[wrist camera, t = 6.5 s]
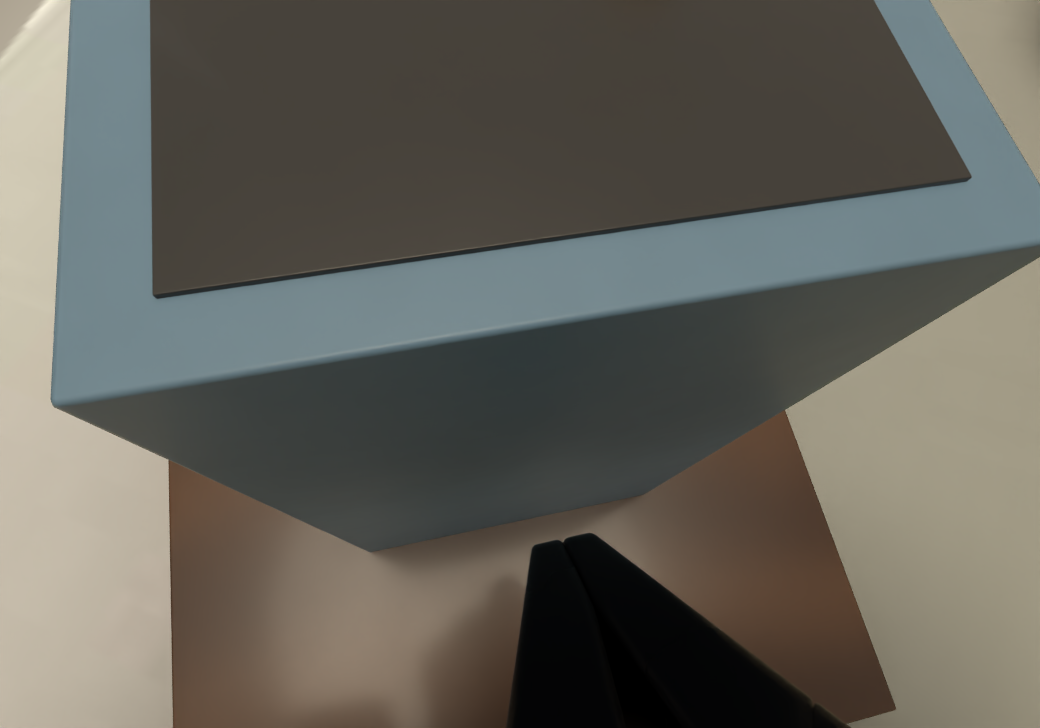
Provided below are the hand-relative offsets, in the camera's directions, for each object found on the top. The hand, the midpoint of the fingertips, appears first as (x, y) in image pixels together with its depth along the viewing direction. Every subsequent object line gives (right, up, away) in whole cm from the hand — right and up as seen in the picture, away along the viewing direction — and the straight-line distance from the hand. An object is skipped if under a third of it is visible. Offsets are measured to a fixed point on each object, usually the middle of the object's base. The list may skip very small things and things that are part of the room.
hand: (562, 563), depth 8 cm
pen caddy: (-2, +3, +9) cm, 9 cm away
